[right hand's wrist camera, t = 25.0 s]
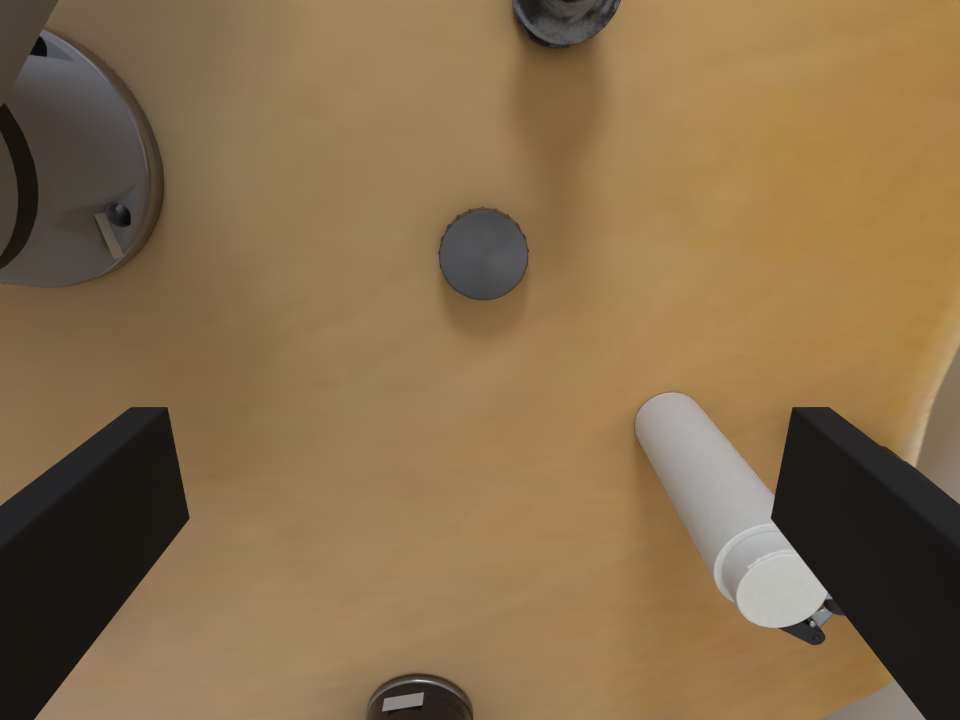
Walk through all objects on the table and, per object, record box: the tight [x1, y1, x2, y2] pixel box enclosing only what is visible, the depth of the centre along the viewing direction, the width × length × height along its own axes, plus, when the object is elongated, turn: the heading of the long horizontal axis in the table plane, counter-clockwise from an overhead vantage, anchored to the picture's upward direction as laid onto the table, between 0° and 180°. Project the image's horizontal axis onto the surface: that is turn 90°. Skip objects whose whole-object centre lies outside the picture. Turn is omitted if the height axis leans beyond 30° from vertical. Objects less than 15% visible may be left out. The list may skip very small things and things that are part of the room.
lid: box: [438, 207, 529, 300], centre depth 38 cm, size 6×6×2 cm
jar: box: [635, 392, 827, 628], centre depth 35 cm, size 5×5×17 cm
